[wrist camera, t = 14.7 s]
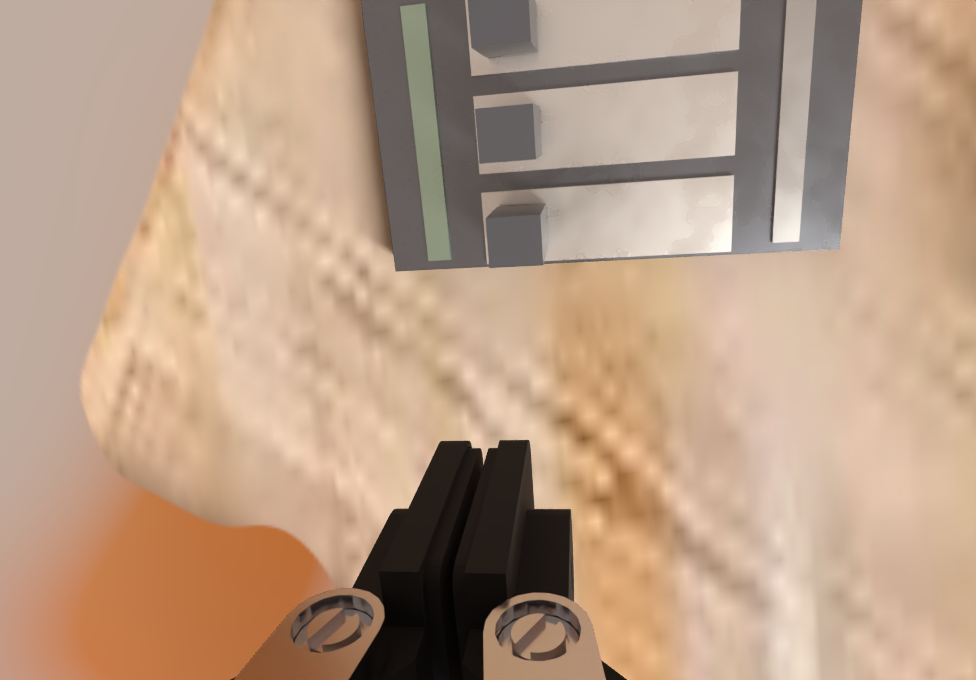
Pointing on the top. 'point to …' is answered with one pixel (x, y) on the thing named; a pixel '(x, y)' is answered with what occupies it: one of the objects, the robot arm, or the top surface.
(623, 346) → the top surface
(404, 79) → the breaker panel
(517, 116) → the handle
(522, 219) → the handle
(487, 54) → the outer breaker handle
